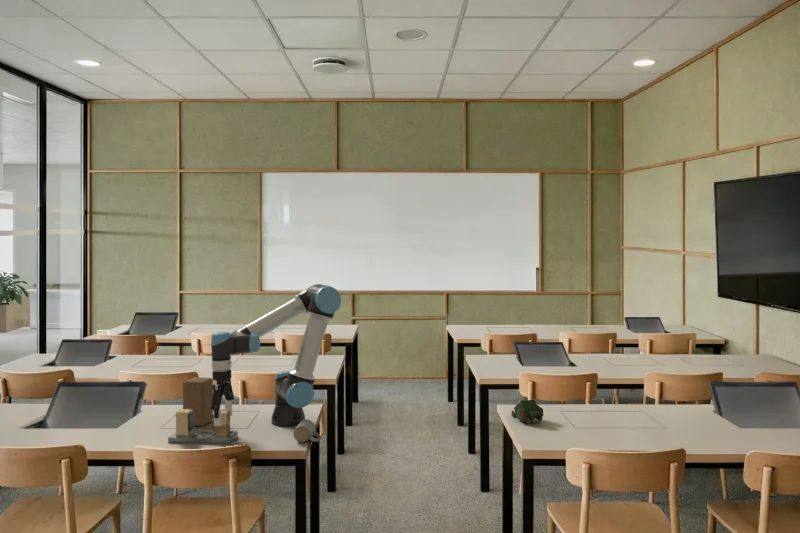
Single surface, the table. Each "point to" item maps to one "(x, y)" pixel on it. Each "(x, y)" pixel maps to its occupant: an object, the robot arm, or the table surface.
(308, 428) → the ceramic mug
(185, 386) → the wooden block
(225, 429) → the finger block
